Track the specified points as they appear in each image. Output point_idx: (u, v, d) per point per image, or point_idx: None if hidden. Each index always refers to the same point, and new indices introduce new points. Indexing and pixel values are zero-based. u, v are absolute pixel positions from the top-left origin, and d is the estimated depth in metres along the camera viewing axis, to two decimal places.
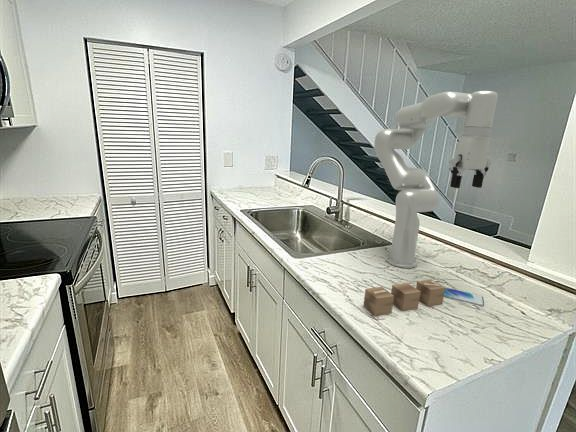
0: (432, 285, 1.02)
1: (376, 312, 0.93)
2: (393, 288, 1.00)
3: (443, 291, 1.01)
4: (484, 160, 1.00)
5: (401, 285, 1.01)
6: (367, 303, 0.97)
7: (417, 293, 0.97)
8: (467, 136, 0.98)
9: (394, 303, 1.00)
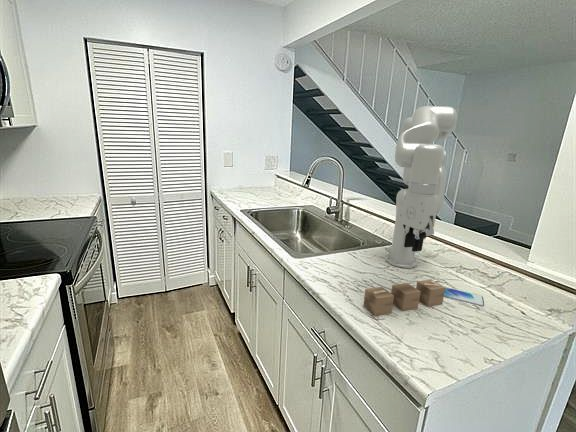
0: (432, 285, 1.02)
1: (376, 312, 0.93)
2: (393, 288, 1.00)
3: (443, 291, 1.01)
4: None
5: (401, 285, 1.01)
6: (367, 303, 0.97)
7: (417, 293, 0.97)
8: (431, 195, 0.88)
9: (394, 303, 1.00)
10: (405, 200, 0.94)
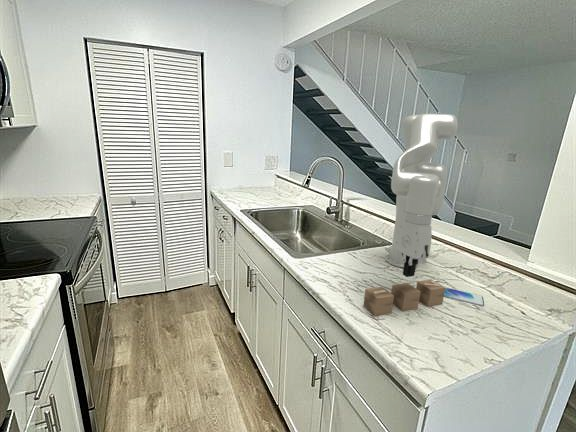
0: (432, 285, 1.02)
1: (376, 312, 0.93)
2: (393, 288, 1.00)
3: (443, 291, 1.01)
4: None
5: (401, 285, 1.01)
6: (367, 303, 0.97)
7: (417, 293, 0.97)
8: (426, 225, 0.90)
9: (394, 303, 1.00)
10: (400, 229, 0.96)
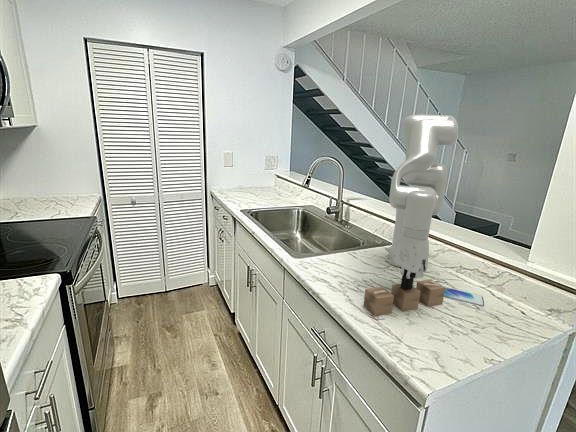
0: (432, 285, 1.02)
1: (376, 312, 0.93)
2: (393, 288, 1.00)
3: (443, 291, 1.01)
4: None
5: None
6: (367, 303, 0.97)
7: (417, 293, 0.97)
8: (424, 239, 0.91)
9: (394, 303, 1.00)
10: (398, 242, 0.97)
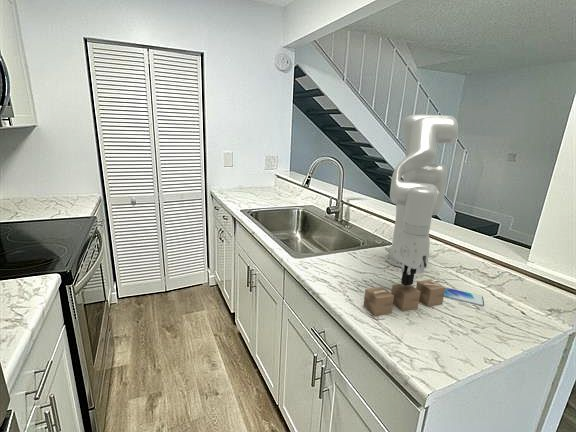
0: (432, 285, 1.02)
1: (376, 312, 0.93)
2: (393, 288, 1.00)
3: (443, 291, 1.01)
4: None
5: (401, 285, 1.01)
6: (367, 303, 0.97)
7: (417, 293, 0.97)
8: (424, 236, 0.91)
9: (394, 303, 1.00)
10: (399, 238, 0.97)
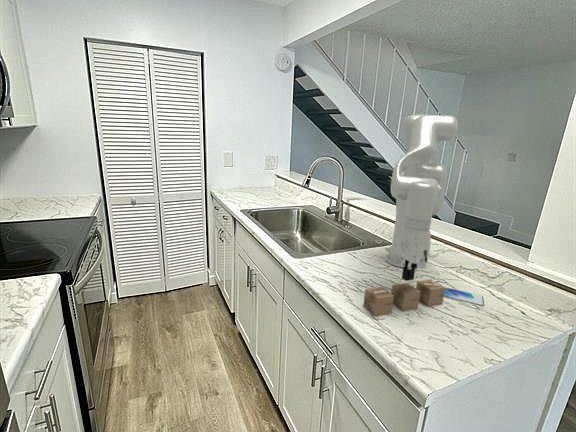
0: (432, 285, 1.02)
1: (376, 312, 0.93)
2: (393, 288, 1.00)
3: (443, 291, 1.01)
4: None
5: (401, 285, 1.01)
6: (367, 303, 0.97)
7: (417, 293, 0.97)
8: (425, 230, 0.91)
9: (394, 303, 1.00)
10: (400, 233, 0.97)
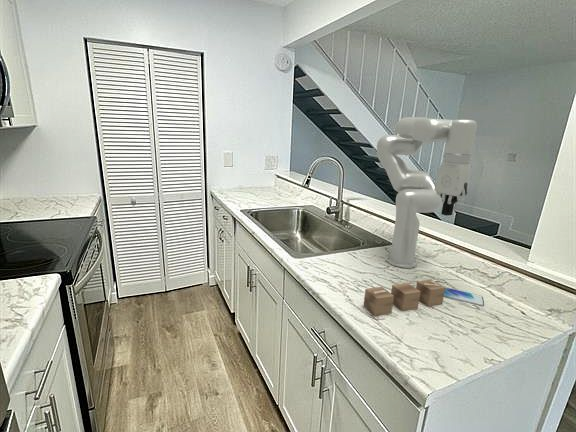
0: (432, 285, 1.02)
1: (376, 312, 0.93)
2: (393, 288, 1.00)
3: (443, 291, 1.01)
4: None
5: (401, 285, 1.01)
6: (367, 303, 0.97)
7: (417, 293, 0.97)
8: (466, 164, 0.99)
9: (394, 303, 1.00)
10: (440, 171, 1.05)
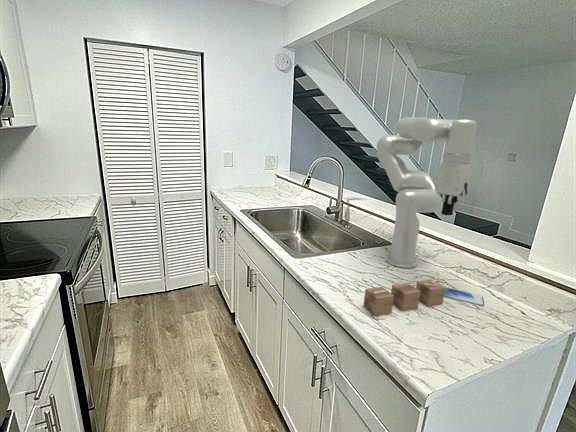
0: (432, 285, 1.02)
1: (376, 312, 0.93)
2: (393, 288, 1.00)
3: (443, 291, 1.01)
4: None
5: (401, 285, 1.01)
6: (367, 303, 0.97)
7: (417, 293, 0.97)
8: (466, 164, 0.99)
9: (394, 303, 1.00)
10: (440, 171, 1.05)
